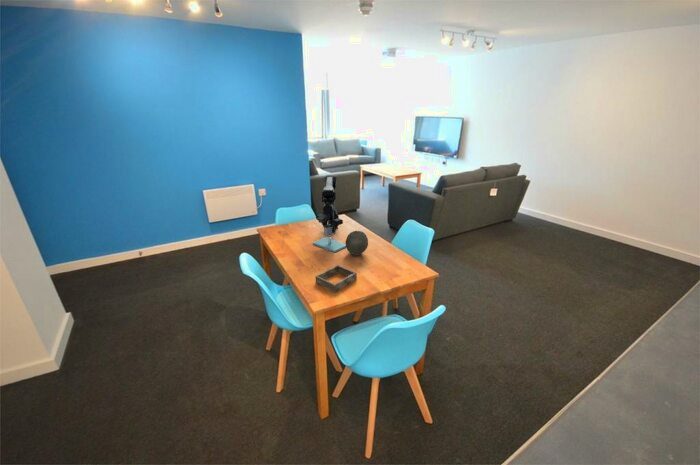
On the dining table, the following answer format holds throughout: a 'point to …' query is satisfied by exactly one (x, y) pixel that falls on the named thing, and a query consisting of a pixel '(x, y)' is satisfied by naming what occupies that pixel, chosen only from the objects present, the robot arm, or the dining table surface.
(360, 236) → the dark grey ball
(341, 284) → the frame
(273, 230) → the dining table surface
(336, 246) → the shaft base
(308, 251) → the dining table surface
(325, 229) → the block
